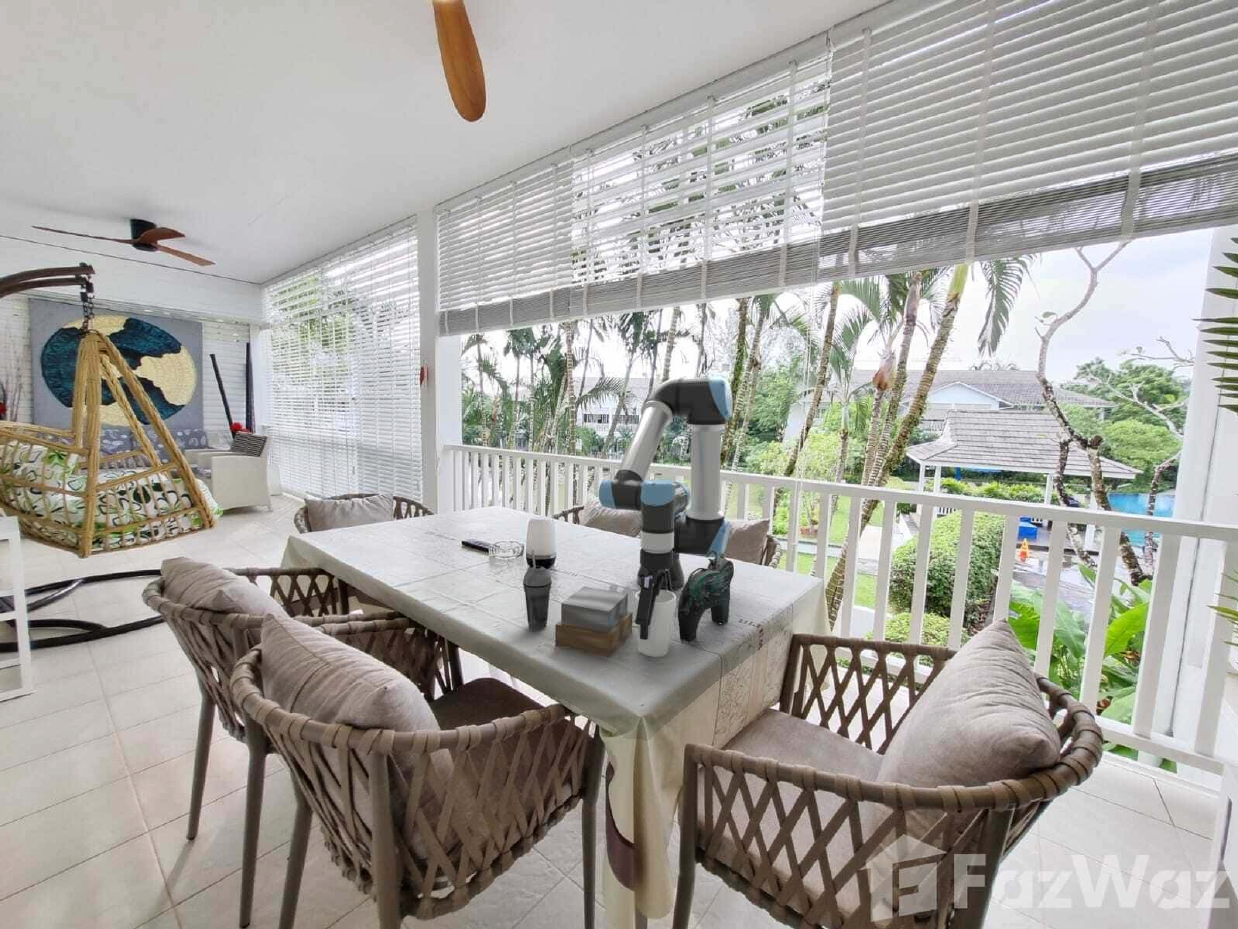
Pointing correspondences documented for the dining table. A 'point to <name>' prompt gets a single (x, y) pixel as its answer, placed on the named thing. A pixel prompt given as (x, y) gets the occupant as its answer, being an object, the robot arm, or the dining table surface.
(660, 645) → the foam cup
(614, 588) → the castle model
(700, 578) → the green elephant statue
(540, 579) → the beverage cup
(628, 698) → the dining table surface
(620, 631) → the block tower
